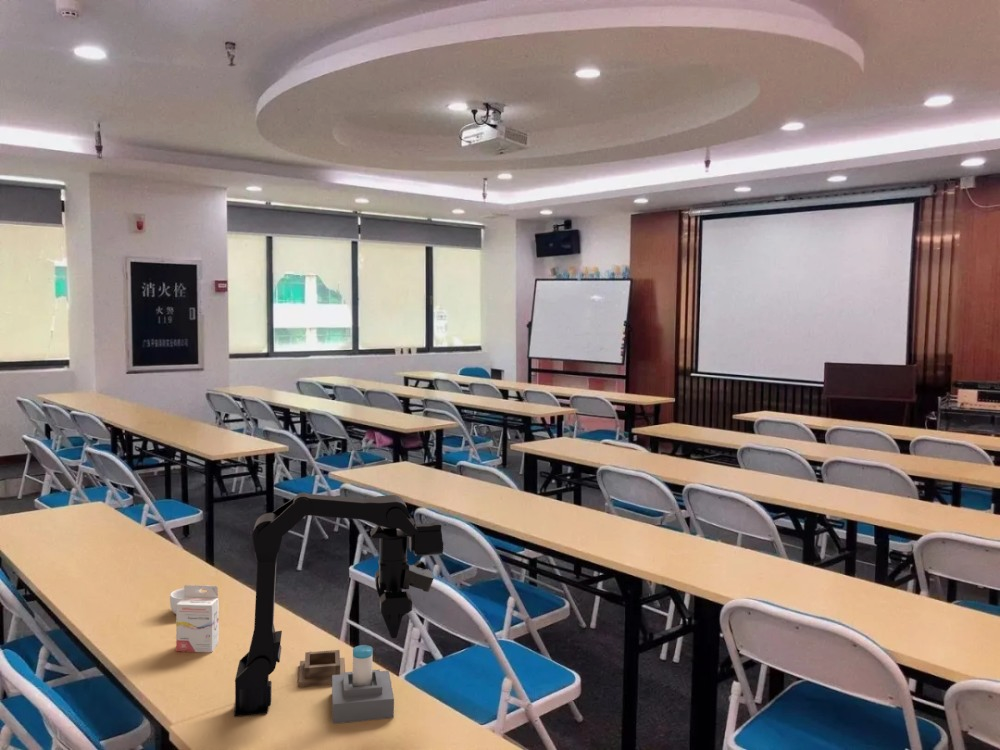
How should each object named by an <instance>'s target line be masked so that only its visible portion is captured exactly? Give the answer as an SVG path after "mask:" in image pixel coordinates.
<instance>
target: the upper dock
mask: <svg viewBox="0 0 1000 750" xmlns="http://www.w3.org/2000/svg"><path fill="white" fill-rule="evenodd" d="M352 682H353V671H345V672H343V674H340V675H332V684H331V686H332V687H331V706H332V707H331V708H332V724H334V725H335V724H342V723H352V722H354V723H355V722H364V721H373V720H375V721H376V720H384V719H393V718H394V717H395V714H394V713H395V697H394V691H393V687H392V680H391V673H390V670H380V669H372V686H362V687H352Z"/></svg>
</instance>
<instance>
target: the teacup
mask: <svg viewBox="0 0 1000 750" xmlns="http://www.w3.org/2000/svg"><path fill="white" fill-rule="evenodd" d="M195 592H202V589H199V590H195ZM184 597H185V594H184V587H183V588H177V589H176V590H173V591H171V593H170V594H169V604H170V609H171V611H172V612H173V614H175V615H176V613H177V603H178V602H180V601H181V600H182V599H183V598H184Z"/></svg>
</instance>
